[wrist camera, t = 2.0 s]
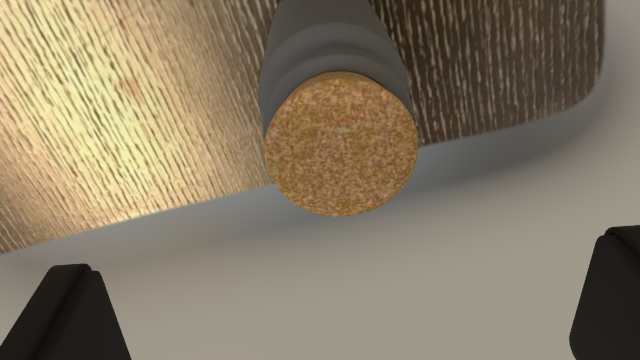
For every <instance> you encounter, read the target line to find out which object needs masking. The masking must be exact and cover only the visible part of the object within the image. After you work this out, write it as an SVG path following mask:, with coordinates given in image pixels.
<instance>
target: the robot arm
mask: <svg viewBox="0 0 640 360" xmlns="http://www.w3.org/2000/svg"><path fill="white" fill-rule="evenodd" d="M569 340H570V341H569V342H570V347H571V350H572V353H573V355H574V357H575V358H576V360H640V225H635V226H620V227H611V228H609V229H608V230H607V231H606V232H605V234H604V235H603V236H600V237H599V238H598V239H597V241H596V244H595V247H594V251H593V254H592V258H591V261H590V265H589V268H588V272H587V276H586V279H585V283H584V286H583V289H582V293H581V297H580V300H579V304H578V307H577V311H576V314H575V318H574V321H573V325H572V328H571V332H570V336H569ZM0 360H131V357H130V354H129V351H128V349H127V346H126V343H125V340H124V337H123V335H122V332H121V329H120V327H119V324H118V321H117V318H116V315H115V312H114V309H113V307H112V304H111V301H110V298H109V296H108V293H107V290H106V287H105V284H104V281H103V279H102V276H101V274H100V273H99V272H98V271H92V270H91V268H90V267H89V265H87V264H71V265H56V266H53V267H51V268H50V269H49V271H48V272H47V274H46V275H45V277H44V278H43V280H42V282H41V283H40V285H39V286H38V288H37V289H36V291H35V293H34V294H33V296H32V297H31V299H30V300H29V302H28V303H27V305H26V307H25V308H24V310H23V311H22V313H21V315H20V316H19V318H18V319H17V321H16V322H15V324H14V326H13V327H12V329H11V330H10V332H9V333H8V335H7V337H6V338H5V340H4V341H3V343H2V345H1V346H0Z"/></svg>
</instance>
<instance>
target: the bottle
mask: <svg viewBox="0 0 640 360" xmlns="http://www.w3.org/2000/svg"><path fill="white" fill-rule="evenodd" d="M258 100H259V108H260V113H261V116H262V119H263V136H264V140H265V145H264V148H265V162H266V165H267V169H268V172H269V174H270V176H271V178H272V180H273V182H274V184H275V185H276V187H277V188H278V189H279V190H280V192H281V193H282V194H283V195H284V196H285V197H286V198H288V199H289V200H290V201H291V202H293V203H294V204H296V205H297V206H299V207H301V208H303V209H306V210H308V211H310V212H313V213H317V214H321V215H327V216H336V217H339V216H353V215H357V214H361V213H364V212H367V211H370V210H373V209H375V208H377V207H379V206H381V205H383V204H384V203H386V202H387V201H389V200H390V199H391V198H392V197H394V196H395V195H396V194H397V193H398V192H399V191H400V190H401V189H402V187H403V186H404V185H405V184H406V182H407V181H408V179H409V178H410V176H411V174H412V171H413V169H414V166H415V164H416V160H417V153H418V135H417V130H416V126H415V124H414V121H413V110H412V105H411V101H410V98H409V81H408V76H407V72H406V70H405V67H404V64H403V62H402V59H401V57H400V55H399V53H398V51H397V50H396V48H395V46H394V44H393V42H392V40H391V39H390V37H389V35H388V33H387V32H386V30H385V28H384V26H383V25H382V23H381V21H380V19H379V18H378V16H377V14H376V12H375V11H374V9H373V8H372V6H371V4H370V3H369V1H368V0H281V1H280V2H279V4H278V7H277V9H276V11H275V13H274V17H273V20H272V24H271V28H270V32H269V37H268V41H267V46H266V50H265V55H264V59H263V64H262V69H261V74H260V81H259V90H258Z"/></svg>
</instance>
